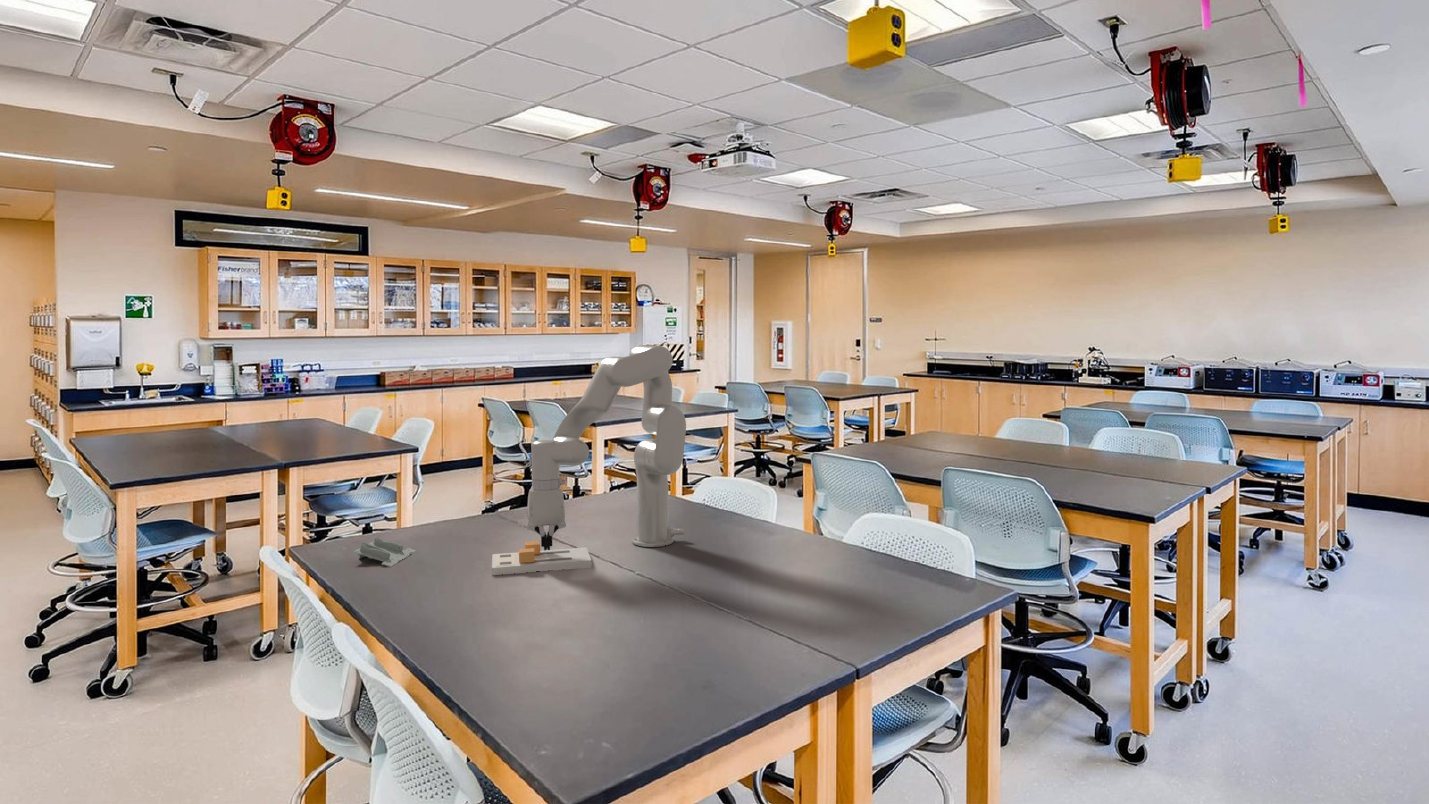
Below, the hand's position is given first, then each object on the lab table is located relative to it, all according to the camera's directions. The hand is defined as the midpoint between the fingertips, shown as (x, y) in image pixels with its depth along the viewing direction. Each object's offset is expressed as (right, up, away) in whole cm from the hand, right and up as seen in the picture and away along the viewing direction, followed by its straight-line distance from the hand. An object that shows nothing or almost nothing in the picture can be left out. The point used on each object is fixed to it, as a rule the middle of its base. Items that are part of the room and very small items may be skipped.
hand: (546, 548), depth 214 cm
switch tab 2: (-4, -2, -8) cm, 9 cm away
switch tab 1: (-4, -1, -1) cm, 4 cm away
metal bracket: (-47, -4, +2) cm, 47 cm away
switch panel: (-1, -4, -3) cm, 5 cm away
